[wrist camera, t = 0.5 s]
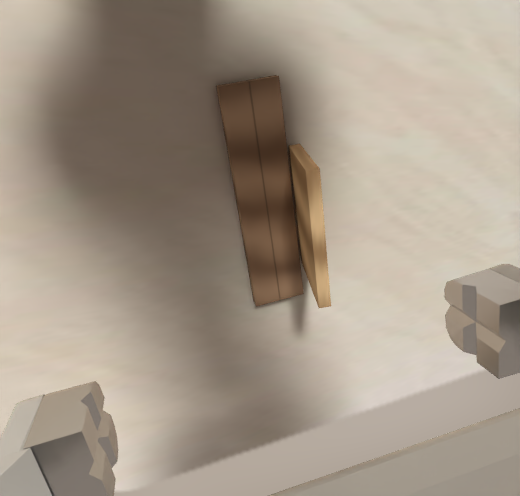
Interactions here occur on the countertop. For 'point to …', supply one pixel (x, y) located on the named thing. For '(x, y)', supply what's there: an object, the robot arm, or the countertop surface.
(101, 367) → the countertop surface
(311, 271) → the oak plank
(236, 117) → the walnut floorboard
